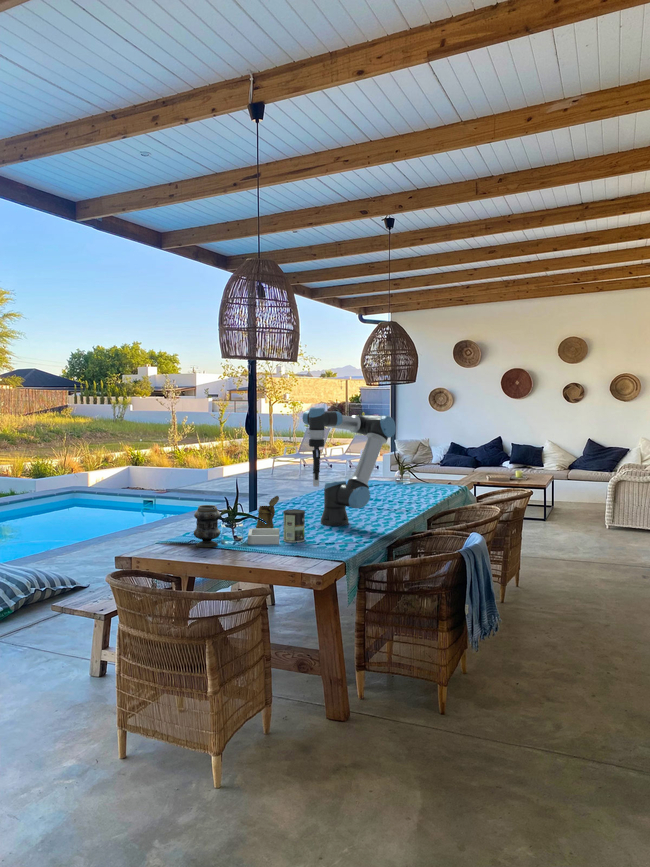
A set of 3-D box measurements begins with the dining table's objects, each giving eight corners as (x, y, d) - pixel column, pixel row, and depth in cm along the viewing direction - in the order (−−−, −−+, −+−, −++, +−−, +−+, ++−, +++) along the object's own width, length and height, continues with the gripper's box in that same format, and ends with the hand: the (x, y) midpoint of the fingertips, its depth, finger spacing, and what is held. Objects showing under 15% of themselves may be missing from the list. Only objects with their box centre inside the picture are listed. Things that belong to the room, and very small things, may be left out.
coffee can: (304, 537, 301) (304, 509, 300) (304, 542, 291) (305, 513, 290) (283, 537, 301) (283, 509, 300) (282, 542, 290) (283, 513, 290)
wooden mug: (270, 531, 314) (271, 496, 313) (252, 527, 323) (252, 493, 322) (283, 529, 321) (283, 494, 320) (264, 525, 329) (265, 491, 328)
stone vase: (224, 546, 282) (224, 507, 281) (198, 549, 276) (198, 509, 275) (215, 541, 292) (215, 503, 291) (190, 543, 286) (190, 505, 285)
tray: (279, 536, 303) (279, 528, 303) (279, 544, 287) (279, 535, 287) (249, 536, 302) (249, 528, 302) (247, 544, 286) (247, 535, 286)
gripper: (308, 437, 313) (307, 483, 315) (309, 439, 297) (309, 488, 299) (323, 437, 314) (322, 483, 315) (325, 439, 298) (324, 488, 299)
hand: (316, 485), depth 307 cm, fingers open, 3 cm apart
